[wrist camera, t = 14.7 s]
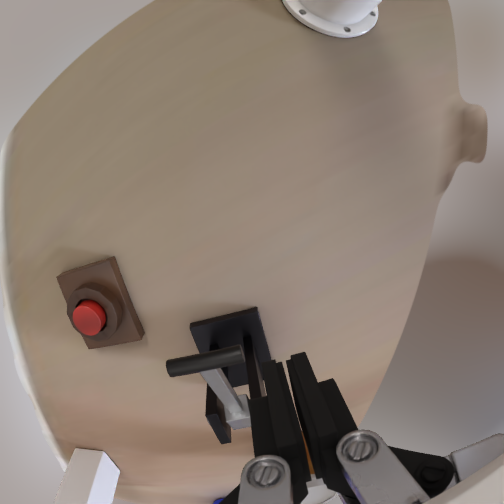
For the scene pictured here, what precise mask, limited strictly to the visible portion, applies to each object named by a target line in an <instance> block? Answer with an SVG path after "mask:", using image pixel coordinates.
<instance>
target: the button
mask: <svg viewBox="0 0 504 504" xmlns="http://www.w3.org/2000/svg"><path fill="white" fill-rule="evenodd" d="M73 321H74V324H75V326H76V327H77V328H78V330H79V331H81V332H82V333H84V334H86V335H90V336H92V335H96V334H98V333H99V331H100V330H101V329H102V327H103V326H104V324H105V322H106V314H105V311H104V309H103V308H102V307H101V305H100V304H98V303H97V302H95V301H93V300H85V301H83V302H82V303H81V304H80V305H79V306H78V307H77V308H76V309H75V310H74V312H73Z"/></svg>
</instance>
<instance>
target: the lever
mask: <svg viewBox="0 0 504 504" xmlns="http://www.w3.org/2000/svg"><path fill="white" fill-rule="evenodd" d="M244 362H245V358H244V353H243V350H242V347H241V345H236V346H231V347H227V348H223V349H218V350H214V351H209V352H205V353H200V354H195V355H191V356H186V357H180V358H175V359H170V360H167V361H166V368H167V372H168V374H169V376H170V377H176V376H182V375H187V374H193V373H198V372H200V374H201V375H202V376H203V378H204V379H205V380H206V382H207V383H208V384H209V386H210V387H211V388H212V390H213V391H214V392H215V394H216V395H217V396H218V398H219V399H220V400H221V401H222V403H223V405H224V412H225V418H226V422H227V423H228V424H229V425H230V426H231V427H232V428H233V429H234V430H236V429H241V428H246V427H251V420H250V411H249V398H248V397H247V395H246V394H243V395H238V396H237V394H236V393H235V391H234V390H233V388H232V386H231V385H230V383H229V381H228V380H227V378H226V377H225V375H224V373H223V372H222V370H221V368H222V367H227V366H231V365H236V364H240V363H244Z"/></svg>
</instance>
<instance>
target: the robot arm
mask: <svg viewBox="0 0 504 504" xmlns="http://www.w3.org/2000/svg"><path fill="white" fill-rule="evenodd" d="M282 1H283V4H284V5H285V6H286V8H287V9H288V11H289V12H290V13H291V14H292V15H293V16H294V17H295V18H296V19H298V20H299V21H300V22H302V23H303V24H305V25H306V26H308V27H310V28H312V29H314V30H316V31H318V32H320V33H324V34H327V35H330V36H335V37H344V38H350V37H357V36H360V35H363V34H365V33H366V32H368V31H369V30H370V29H371V28H372V27H373V26H374V25H375V23H376V21H377V18H378V8H377V5H378V4H379V3H380V2H381V1H382V0H282ZM286 363H287V368H288V373H289V377H290V382H291V387H292V392H293V397H294V401H295V406H296V410H297V414H298V417H297V414H296V410H295V407H294V403H293V400H292V396H291V393H290V389H289V386H288V382H287V379H286V375H285V372H284V368H283V365H282V362H278V363H276V361H275V360H270V361H266V362H262V363H261V366H262V371H263V377H264V382H265V387H266V393H267V396H264V397H259V398H254V399H249V411H250V420H251V429H252V438H253V446H254V455H255V458H254V459H252V460H250V461H249V462H248V463H247V464H246V465H245V467H244V468H243V470H242V474H241V482H240V484H239V485H238V486H237V487H236V488H235V489H234V490H233V491H232V492H231V493H230V494H229V495H227V496H226V497H225V498H224V499H223V500H222V501H221V502H220V503H219V504H301V502H302V501H303V500H304V499H305V498H306V496H307V495H308V494H309V493H308V488H307V484H306V482H309V481H312V479H311V474H310V469H309V464H308V459H307V453H306V448H305V443H304V439H303V435H304V438H305V442H306V445H307V449H308V452H309V456H310V459H311V463H312V466H313V470H314V473H315V476H316V479H321V478H322V479H323V483H324V485H325V484H326V486H327V489H329V490H332V491H335V492H337V493H338V495H339V497H340V499H341V501H342V502H343V504H504V434H495V435H492V436H491V437H488V438H486V439H484V440H481V441H479V442H477V443H474V444H472V445H469V446H467V447H464V448H462V449H459V450H456V451H454V452H451V454H450V455H448V456H445V457H441V456H436V455H430V454H424V453H419V452H413V451H408V450H404V449H399V448H394V447H390V446H387V444H386V443H385V442H384V441H383V439H382V438H381V437H380V436H379V435H378V434H377V433H375V432H372V431H370V430H358V428H357V426H356V424H355V422H354V420H353V418H352V415H351V413H350V411H349V409H348V407H347V405H346V403H345V401H344V399H343V397H342V395H341V393H340V391H339V389H338V386H337V384H336V382H335V381H334V379H333V378H332V379H329V380H326V381H322V382H319V383H318V382H317V379H316V377H315V375H314V372H313V370H312V367H311V365H310V363H309V360H308V358H307V355H306V353H305V352H302V353H298V354H294V355H291V359H290V360H286ZM298 418H299V421H300V424H301V428H302V431H303V435H302V431H301V428H300V424H299V421H298Z"/></svg>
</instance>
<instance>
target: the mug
mask: <svg viewBox="0 0 504 504" xmlns="http://www.w3.org/2000/svg"><path fill="white" fill-rule="evenodd" d="M223 499H224V498H223ZM223 499H218V500H216V501H215V502H214V503H213V504H219V503H220V502H221V501H222V500H223Z"/></svg>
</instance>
